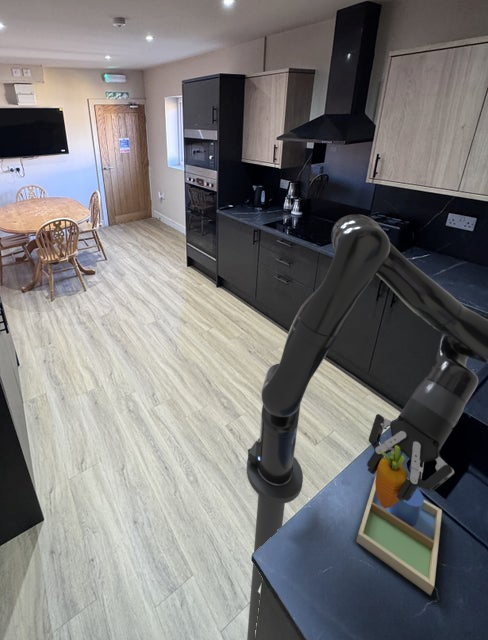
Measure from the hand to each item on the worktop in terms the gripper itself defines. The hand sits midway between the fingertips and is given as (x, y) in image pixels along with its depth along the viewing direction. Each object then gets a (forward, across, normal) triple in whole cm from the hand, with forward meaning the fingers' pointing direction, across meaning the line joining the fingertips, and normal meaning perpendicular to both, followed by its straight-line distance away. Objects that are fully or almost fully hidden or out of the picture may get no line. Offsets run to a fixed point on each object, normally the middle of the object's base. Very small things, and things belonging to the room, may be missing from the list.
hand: (384, 484), depth 61 cm
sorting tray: (+9, 0, +28) cm, 29 cm away
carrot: (+4, 0, +7) cm, 8 cm away
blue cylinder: (+5, -2, +30) cm, 31 cm away
